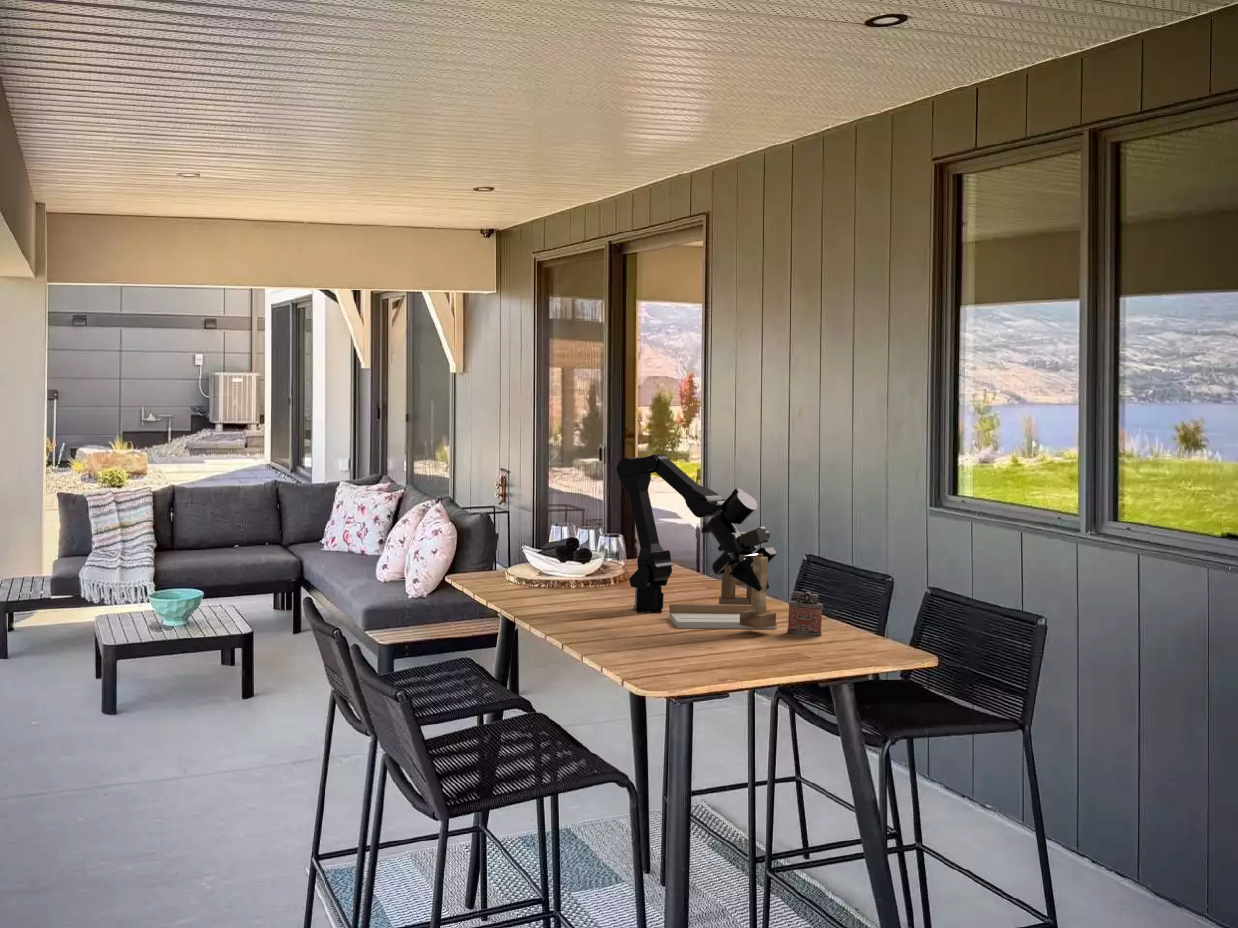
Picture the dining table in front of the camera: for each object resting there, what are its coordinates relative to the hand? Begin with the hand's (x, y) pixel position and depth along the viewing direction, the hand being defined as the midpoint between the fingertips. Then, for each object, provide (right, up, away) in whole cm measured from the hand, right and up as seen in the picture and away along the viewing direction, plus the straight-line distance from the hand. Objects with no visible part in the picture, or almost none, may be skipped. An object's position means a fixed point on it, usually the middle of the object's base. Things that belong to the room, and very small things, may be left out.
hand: (764, 589), depth 273 cm
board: (-9, -9, +12) cm, 17 cm away
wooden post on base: (-1, -8, +2) cm, 9 cm away
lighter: (+10, -11, +2) cm, 15 cm away
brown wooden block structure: (-3, -9, +28) cm, 29 cm away
